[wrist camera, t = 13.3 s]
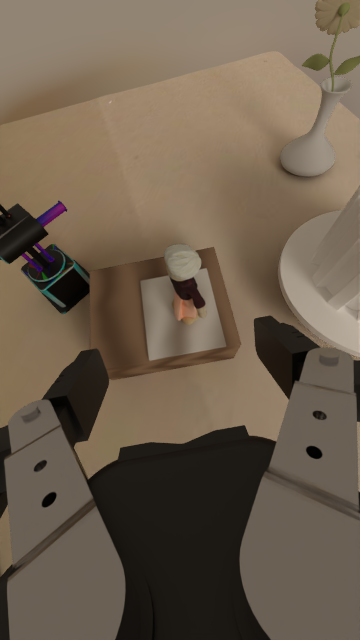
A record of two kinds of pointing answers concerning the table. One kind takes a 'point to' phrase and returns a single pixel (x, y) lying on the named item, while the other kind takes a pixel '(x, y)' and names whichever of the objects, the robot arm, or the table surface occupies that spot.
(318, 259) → the ribbed cylinder on disc
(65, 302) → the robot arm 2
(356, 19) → the flower in vase
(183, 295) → the grandmother figurine
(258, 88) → the table surface
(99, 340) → the stand
